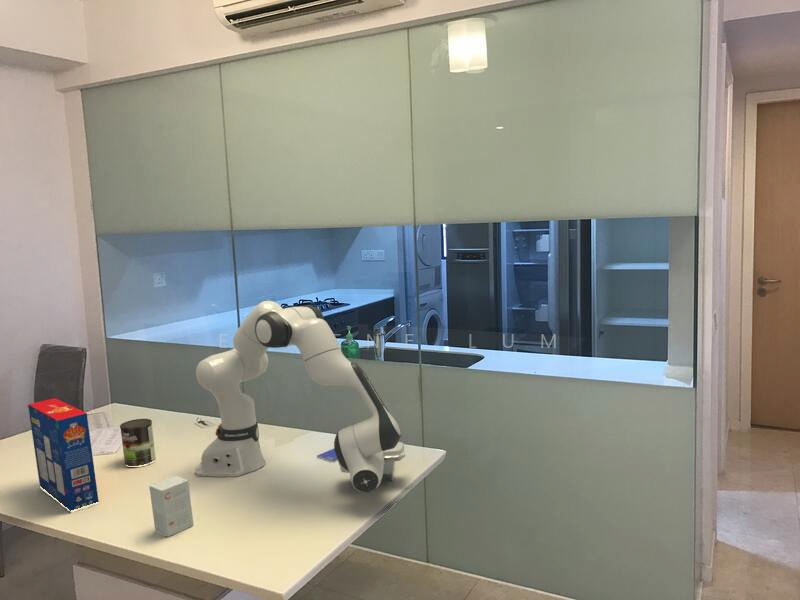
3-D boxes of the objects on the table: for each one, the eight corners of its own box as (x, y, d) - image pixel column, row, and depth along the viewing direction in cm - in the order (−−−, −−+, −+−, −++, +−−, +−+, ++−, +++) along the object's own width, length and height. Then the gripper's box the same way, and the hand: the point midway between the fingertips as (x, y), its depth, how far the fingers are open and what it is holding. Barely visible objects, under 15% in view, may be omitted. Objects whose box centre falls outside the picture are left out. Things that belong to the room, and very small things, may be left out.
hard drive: (333, 459, 222) (359, 448, 231) (316, 455, 227) (343, 443, 236) (333, 464, 222) (360, 452, 231) (316, 459, 227) (343, 448, 237)
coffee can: (141, 469, 228) (136, 428, 226) (118, 466, 232) (112, 427, 230) (162, 458, 237) (158, 419, 235) (139, 455, 241) (135, 417, 239)
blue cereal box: (98, 503, 202) (86, 413, 198) (70, 513, 197) (57, 420, 193) (66, 480, 222) (55, 398, 218) (40, 489, 217) (27, 404, 213)
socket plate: (352, 484, 204) (351, 473, 203) (356, 463, 220) (356, 454, 219) (392, 481, 203) (391, 471, 203) (393, 461, 219) (393, 452, 219)
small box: (181, 520, 187) (175, 475, 186) (194, 525, 183) (188, 479, 181) (154, 531, 181) (148, 485, 179) (167, 538, 177) (161, 490, 175)
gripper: (404, 447, 197) (404, 431, 210) (334, 451, 197) (339, 435, 211) (405, 468, 198) (406, 451, 211) (335, 472, 198) (340, 455, 212)
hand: (372, 443), depth 211 cm, fingers closed on plug, 4 cm apart
